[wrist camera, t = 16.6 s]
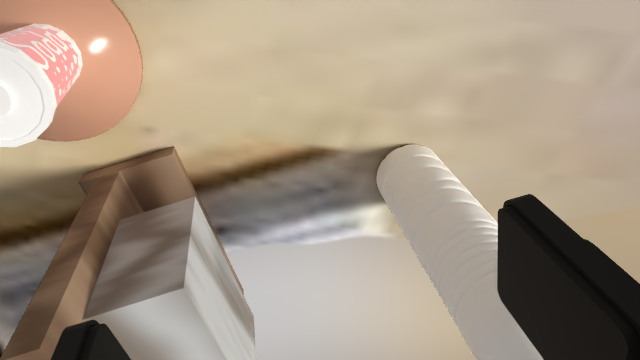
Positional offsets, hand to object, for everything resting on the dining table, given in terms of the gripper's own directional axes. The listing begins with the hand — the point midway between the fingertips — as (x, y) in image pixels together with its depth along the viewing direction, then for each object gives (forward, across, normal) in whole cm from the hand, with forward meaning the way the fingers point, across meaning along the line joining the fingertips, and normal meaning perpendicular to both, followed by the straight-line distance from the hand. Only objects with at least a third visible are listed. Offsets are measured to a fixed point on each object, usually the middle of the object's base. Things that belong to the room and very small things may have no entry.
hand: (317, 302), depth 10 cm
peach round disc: (+28, +15, -2) cm, 32 cm away
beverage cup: (+28, +15, -3) cm, 32 cm away
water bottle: (+28, -11, +17) cm, 35 cm away
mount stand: (+28, +13, +16) cm, 35 cm away
